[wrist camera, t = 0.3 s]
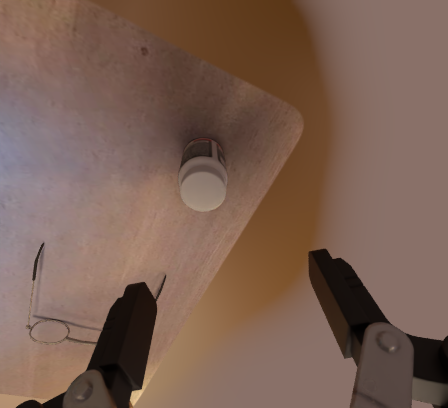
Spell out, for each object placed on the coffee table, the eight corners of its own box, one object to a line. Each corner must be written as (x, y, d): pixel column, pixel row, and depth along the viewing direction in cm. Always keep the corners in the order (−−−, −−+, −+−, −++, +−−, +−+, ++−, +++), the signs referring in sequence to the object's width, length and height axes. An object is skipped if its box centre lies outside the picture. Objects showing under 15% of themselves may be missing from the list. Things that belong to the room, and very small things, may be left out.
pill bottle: (176, 164, 28) (165, 202, 21) (194, 129, 26) (189, 157, 19) (212, 182, 29) (213, 223, 22) (231, 149, 27) (240, 183, 20)
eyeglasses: (33, 317, 42) (17, 340, 38) (43, 239, 33) (25, 259, 30) (136, 337, 46) (131, 359, 43) (168, 272, 38) (164, 293, 35)
